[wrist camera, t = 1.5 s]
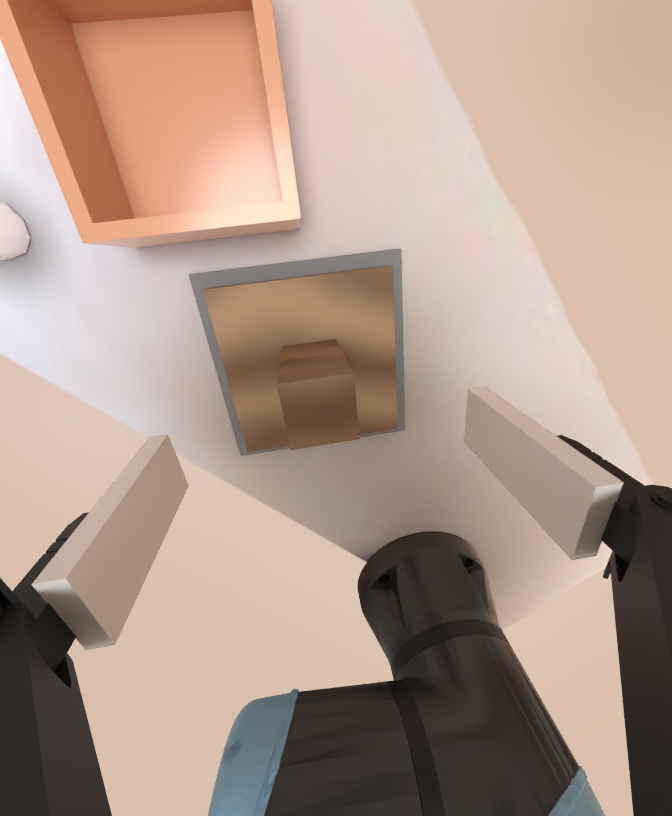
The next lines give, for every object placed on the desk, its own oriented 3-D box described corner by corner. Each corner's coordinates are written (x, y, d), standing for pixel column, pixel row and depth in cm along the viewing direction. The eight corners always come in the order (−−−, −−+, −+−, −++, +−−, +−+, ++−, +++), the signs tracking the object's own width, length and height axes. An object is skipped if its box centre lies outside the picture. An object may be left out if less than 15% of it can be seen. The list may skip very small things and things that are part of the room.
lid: (393, 422, 29) (433, 488, 20) (249, 444, 28) (230, 522, 20) (388, 265, 23) (440, 268, 15) (207, 288, 22) (155, 304, 14)
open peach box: (299, 228, 22) (301, 218, 17) (136, 247, 21) (83, 243, 16) (267, -2, 17) (254, -122, 12) (57, 13, 17) (-59, -107, 11)
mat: (402, 427, 30) (404, 430, 29) (241, 452, 29) (240, 455, 28) (398, 249, 23) (401, 248, 23) (191, 274, 22) (188, 274, 22)
